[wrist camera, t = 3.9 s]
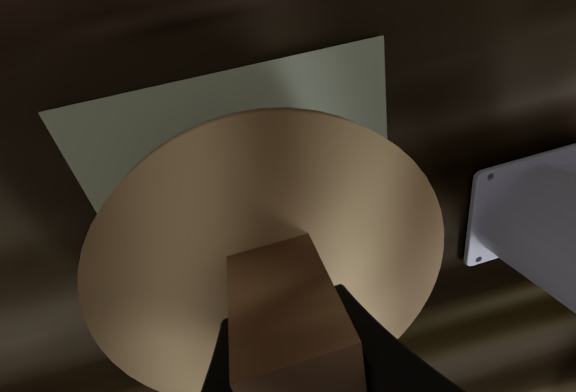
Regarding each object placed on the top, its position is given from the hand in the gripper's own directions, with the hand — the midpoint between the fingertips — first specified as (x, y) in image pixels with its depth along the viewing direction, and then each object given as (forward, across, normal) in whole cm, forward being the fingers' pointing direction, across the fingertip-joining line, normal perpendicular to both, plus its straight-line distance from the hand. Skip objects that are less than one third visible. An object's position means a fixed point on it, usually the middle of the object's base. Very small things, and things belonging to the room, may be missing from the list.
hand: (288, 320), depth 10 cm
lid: (+2, 0, 0) cm, 2 cm away
